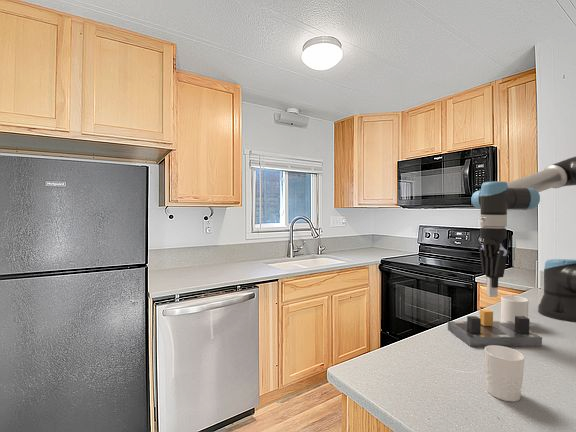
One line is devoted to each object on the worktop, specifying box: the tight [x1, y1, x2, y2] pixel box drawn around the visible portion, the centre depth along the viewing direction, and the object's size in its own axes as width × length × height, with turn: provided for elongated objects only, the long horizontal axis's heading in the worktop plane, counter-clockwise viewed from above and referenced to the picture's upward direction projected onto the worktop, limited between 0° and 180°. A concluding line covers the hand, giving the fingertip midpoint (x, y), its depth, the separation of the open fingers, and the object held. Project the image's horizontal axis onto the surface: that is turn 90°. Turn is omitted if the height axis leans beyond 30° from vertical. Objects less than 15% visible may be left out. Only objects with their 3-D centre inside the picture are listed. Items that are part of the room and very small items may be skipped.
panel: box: [447, 315, 543, 348], centre depth 107 cm, size 23×14×8 cm, turn 90°
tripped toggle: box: [479, 308, 494, 326], centre depth 110 cm, size 3×2×5 cm
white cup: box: [484, 345, 525, 403], centre depth 75 cm, size 8×8×10 cm
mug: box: [500, 294, 529, 323], centre depth 119 cm, size 12×8×10 cm
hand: (492, 296), depth 107 cm, fingers closed
